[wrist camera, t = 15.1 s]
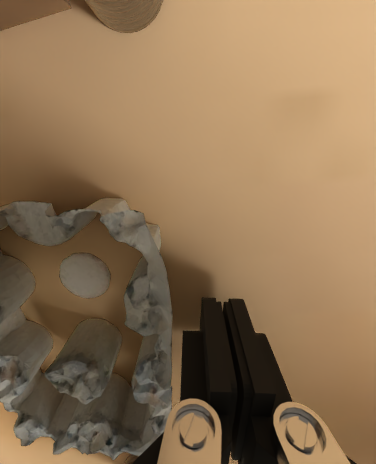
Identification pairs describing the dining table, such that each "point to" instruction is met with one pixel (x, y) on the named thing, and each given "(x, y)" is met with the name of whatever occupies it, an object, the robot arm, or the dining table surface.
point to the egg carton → (86, 338)
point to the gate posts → (126, 31)
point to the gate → (28, 10)
